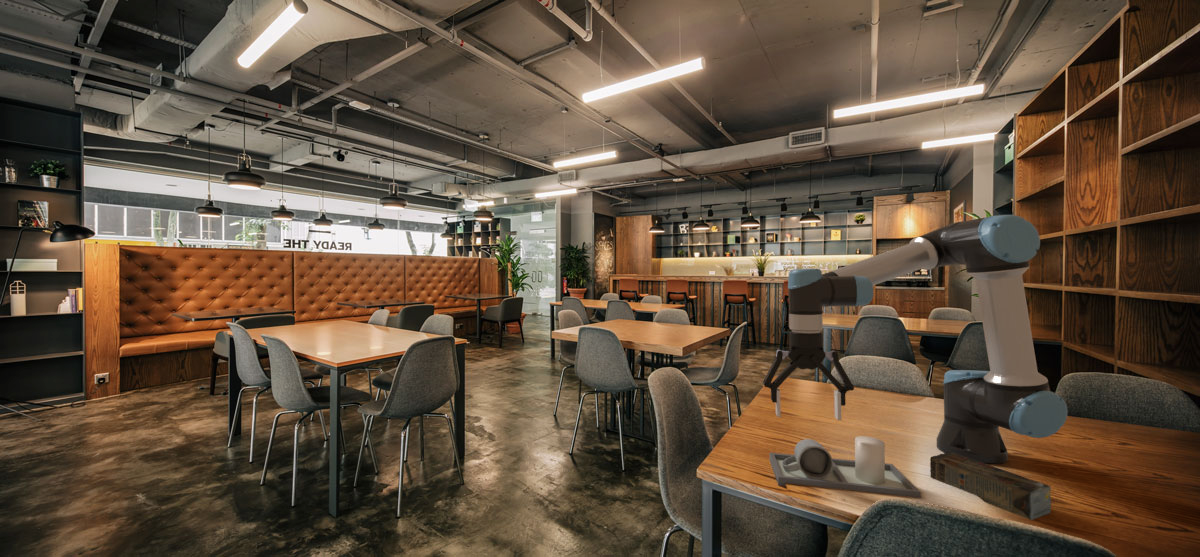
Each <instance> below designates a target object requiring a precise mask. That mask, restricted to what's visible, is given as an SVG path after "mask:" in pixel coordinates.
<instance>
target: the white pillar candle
mask: <svg viewBox="0 0 1200 557" xmlns="http://www.w3.org/2000/svg"><path fill="white" fill-rule="evenodd" d="M885 444H886V442H884V441H883V440H881V439H879V438H876V437H871V436H866V435H864V436H863V435H861V436H860V435H859V436H855V438H854V461H855V477H856V478H857V479H859V480H861V481H863V482H866V483H870V484H884V483H885V458H886V456H885V454H886V453H885V452H886V451H885V449H886V448H885V446H886V445H885Z"/></svg>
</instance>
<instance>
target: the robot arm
mask: <svg viewBox="0 0 1200 557" xmlns="http://www.w3.org/2000/svg"><path fill="white" fill-rule="evenodd" d="M1040 246H1041V237H1040V234H1039V231H1038V230H1037V228H1036V227H1035V225H1034V224H1032V222H1030V221H1029V220H1026V219H1025V218H1024V217H1022V216H1019V215H1015V214H999V215H992V216H987V217H981V218H973V219H970V220H963V221H956V222H953V223H950V224H946V225H945V226H941V227H939V228H937V229H935V230H932V231H929V232H927V233H924V234H922V235H919V236H917V237H914V238H913V239H910V241H909V243H907V244H905V245H902V246H899V247H896V248H894V249H891V250H888V251H885V252H881V253H880V254H877V255H873V256H870V257H868V258H864V259H862V260H859V261H857V262H853V263H851V264H848V265H845V266H842V267H839V268H836V269H833V270H831V271H828V272H825V273H822V269H820V268H795V269H791V270H790V271H789V273H788V278H787V279H788V280H787V281H788V282H787V290H788V292H787V293H788V322H789V323H788V327H789V329H790V330H791V331H789V333H788V334H789V336H788V337H789V348H788V351H787V350H781V349H779V348H778V349H776V351H775V358H774V360H773V361H772V364H771V365H770V367H769V369H768V371H767V373H766V375H765V377H764V378H763V381H762V383H763V386H764V387H765V388H767V389H770V400H771V402H772V403H775V415H776V417H778V418H781V417H782V416H781V413H782V412H781V411H782V409H781V390H780V388H779V387H780V386H781V385H782V384H783V382H785V380H786V379H788V377H789V376H791V374H792V373H793V372H794V371H796V370H797V369H800V370H807V369H808V370H816V369H818V370H820V371H821V373H822V374H823V375H824V376H825V377H826V378H827V379H828V380H829V381H830V383H831V384H832V385H833V386H834V387H835V388H836V389H837V390H836V389H835V390H833V398H834V402H833V404H834V418H835V419H836V420H837V421H842V407H845V406H846V394H847V393H848V392H850V391H854V390H855V386H854V385H853V384H852V381H851V379H850V378H849V376H848V375H847V373H846V370H845V369H844V367H843V366H842V364H841V362H840V358H839V353H838V352H837V351H835V350H830V351H825V350H824V333H823V332H821V331H823V329H824V328H823V327H824V326H823V324H824V323H823V307H824V308H825V307H826V308H827V307H854V308H856V307H864V306H868V305H869V304H870V303H871V302H872V300H873V297H874V294H875V293H874V286H875V285H878V284H881V283H884V282H887V281H890V280H892V279H895V278H898V277H901V276H904V275H907V274H910V273H913V272H916V271H919V270H921V269H922V270H926V271H930V270H933V269H936V268H939V267H946V266H957V265H958V266H959V265H961V266H962V265H963V266H964V265H965V270H966V274H967V275H969V276H970V277H971V278H974V280H975V283H976V289H977V290H976V291H977V296H978V301H979V309H980V317H981V321H982V327H983V333H984V334H983V335H984V340H985V346H986V352H987V358H988V365H989V370H974V369H973V370H970V369H968V370H967V369H950V370H948V371H946V372H945V373H944V377H943V378H944V379H943V383H942V385H943V422H942V426H940V429H939V432H938V433H937V434H938V435H937V437H936V448H937V449H938V450H939V451H941V452H943V453H947V452H951V453H955V454H958V455H961V456H964V457H967V458H970V459H973V460H976V461H979V462H982V463H984V464H1004V463H1008V462H1009V453H1008V452H1009V451H1008V450H1007V447H1006V444H1005V442H1004V439H1003V437H1002V435H1001V432H1000V428H1003V429H1005V430H1008V431H1011V432H1013V433H1015V434H1018V435H1020V436H1022V435H1023V436H1026V437H1030V438H1034V439H1043V438H1048V437H1051V436H1053V435H1055V434H1056V433H1057V432H1059V431H1060V429H1061V428H1063V426H1064V425H1065V423H1066V421H1067V418H1068V414H1069V413H1068V411H1069V410H1068V406H1067V403H1066V401H1065V400H1064V398H1063V397H1061V396H1060V395H1059V394H1057V393H1056V392H1053V391H1051V389H1050V384H1049V380H1048V378H1047V377H1046V376H1045V375H1043V374H1042V373H1040V372H1038V365H1037V360H1036V354H1035V347H1034V341H1033V335H1032V329H1031V324H1030V323H1031V322H1030V318H1029V317H1030V316H1029V310H1028V304H1027V298H1026V291H1025V286H1024V279H1023V278H1024V277H1023V275H1024V274H1025V273H1026V272H1027V270H1029V269H1030V260H1032V259H1033V258H1034V257H1036V255H1037V253H1038V252H1037V251H1039V250H1040V248H1041V247H1040ZM786 357H788V358H789V359H790V361H789V362H788V364H787V366H785V368H784V369H783V370H782V371H781V372H780V373H779V374H778V375H777V377H776V378H775V379H774V377H775V375H776V373H777V372H778V369H779V367H780V365H781V363H782V361H783V360H785V358H786ZM825 358H827V359H828V360H829V361H830V362H831V363H832V366H833V368H835V370H836V372H837V374H838V375H839V377H840V379H841V380H842V383H843V384H841V383H840V382H839V380H837V379H836V377H835V376H834V374H832V373H831V372H830V371H829V370H828V369H827V367H825V365H824V364H823V361H824V360H825ZM773 379H774V380H773Z"/></svg>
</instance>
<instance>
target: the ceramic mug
mask: <svg viewBox="0 0 1200 557" xmlns="http://www.w3.org/2000/svg"><path fill="white" fill-rule="evenodd" d="M793 455H794V456H791V457H788V458H786V459H785V460H784V461H783V462H782V466H783V468H784V470H785V471H788V472H793V471H798V470H801V471H802V472H803V473H804V474H805V475H806V476H808V477H810V478H813V479H823V478H825V477H827V476H828V475H829V474H830V473H831V471H832V468H833V460H832V455H831V454H830V452H828V450H827V449H826V448H825V447H824V446H823V445H822V444H821V443H820V442H818V441H816V440H813V439H812V438H811V439H810V438H805V439H801V440H799V441H798V442H797V443H796V444H795V446H794V452H793ZM796 461H797V463H796V464H792V465H789V464H791V463H793V462H796Z"/></svg>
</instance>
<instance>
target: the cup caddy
mask: <svg viewBox="0 0 1200 557" xmlns="http://www.w3.org/2000/svg"><path fill="white" fill-rule="evenodd" d="M794 455H795V454H791V453H790V454H789V453H778V452H769V462H770V465H771V468H772V471H773V473H774V477H775V479H776V482H777V486H778V487H779V486H780V487H787V484H789V485H797V486H798V485H799V486H808V487H818V488H825V489H826V488H827V489H835V490H846V491H855V492H863V493H870V494H871V493H873V494H879V495H880V494H882V495H892V496H900V497H909V498H918V499H921V498H922V491H921V490H919V489H918V488H917V487H916V486H915V485H914V484H913V483H912V482H911V481H910V480H909V478H907V477H906V476H905V475H904V474H903V473H902V472H901V471H900V470H899V469H898V468H897V467H896V466H895V465H894V464H892V463H885V483H884V484H870V483H866V482H863V481H861V480H859V479H857V478H856V477H855V459H854V460H851V459H844V458H843V459H842V458H832V460H833V468H832V471H831V473H830V474H829V475H828V476H827V477H825V478H823V479H813V478H810V477H808V476H806V475H805V474H804V473H803V472H802V471H801V470H798V471H793V472H788V471H785V470H784V468H783V466H782V462H783V461H784V460H785V459H786V458H788V457H791V456H794ZM796 463H797V461H796V462H793V463H791V464H789V465H792V464H796Z"/></svg>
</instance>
